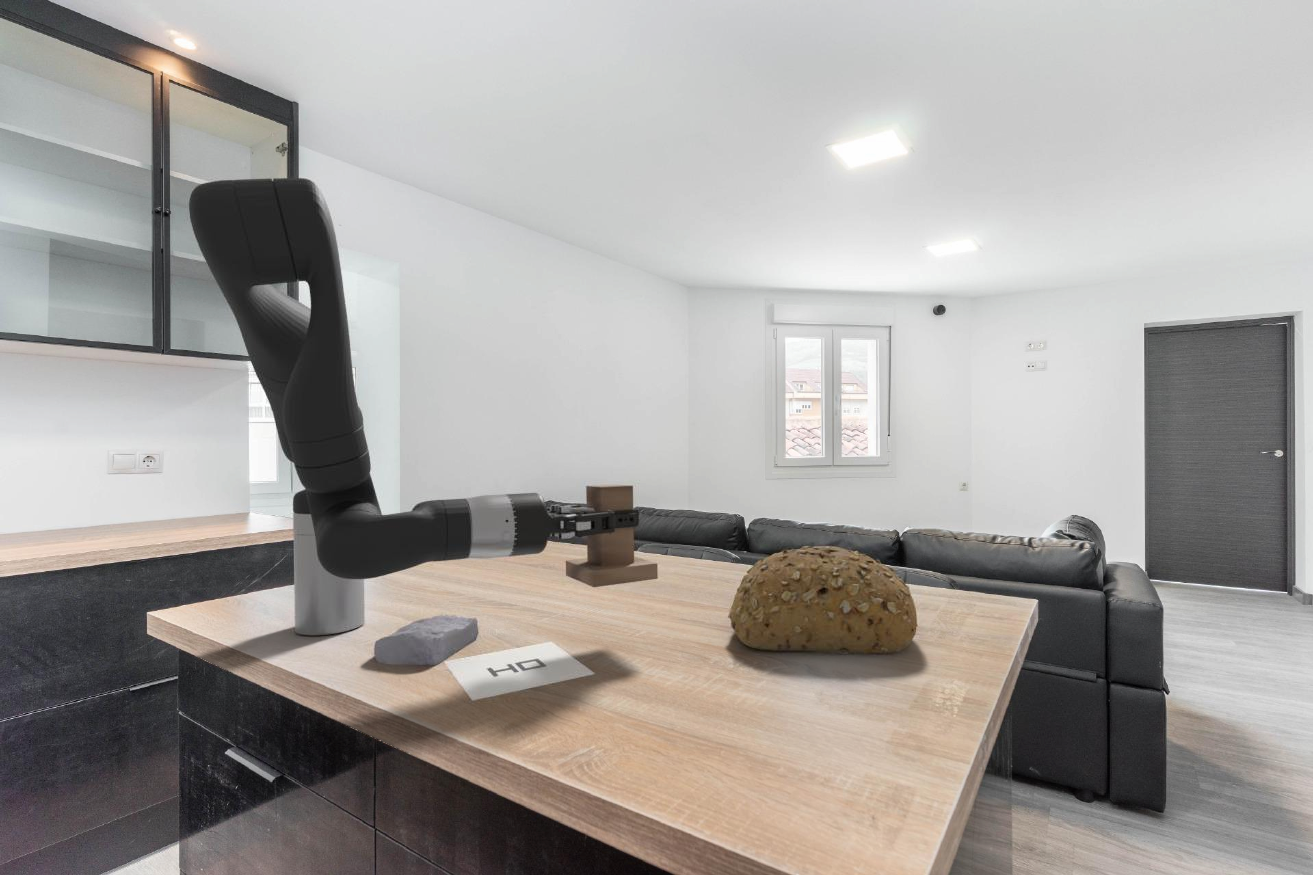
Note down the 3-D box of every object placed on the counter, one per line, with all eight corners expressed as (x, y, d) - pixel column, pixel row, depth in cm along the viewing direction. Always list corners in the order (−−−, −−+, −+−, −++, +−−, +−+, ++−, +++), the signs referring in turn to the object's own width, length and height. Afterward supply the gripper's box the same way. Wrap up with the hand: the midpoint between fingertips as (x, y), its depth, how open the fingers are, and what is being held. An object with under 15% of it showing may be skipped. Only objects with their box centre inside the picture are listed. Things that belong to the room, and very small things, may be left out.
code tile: (443, 662, 79) (443, 661, 79) (551, 642, 86) (551, 641, 86) (472, 701, 67) (472, 700, 67) (595, 674, 74) (595, 673, 74)
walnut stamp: (565, 575, 86) (564, 485, 86) (625, 568, 91) (624, 483, 91) (593, 587, 78) (592, 488, 79) (657, 578, 83) (655, 485, 83)
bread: (891, 614, 97) (889, 535, 97) (934, 664, 76) (932, 562, 76) (729, 612, 100) (727, 535, 100) (727, 658, 79) (725, 561, 79)
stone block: (368, 680, 79) (441, 667, 77) (361, 641, 79) (434, 627, 77) (421, 652, 90) (486, 640, 89) (414, 618, 91) (479, 605, 89)
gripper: (520, 497, 71) (654, 490, 80) (486, 491, 84) (605, 485, 92) (521, 565, 71) (655, 550, 80) (486, 549, 84) (605, 538, 92)
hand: (627, 516), depth 86 cm, fingers closed on walnut stamp, 4 cm apart
